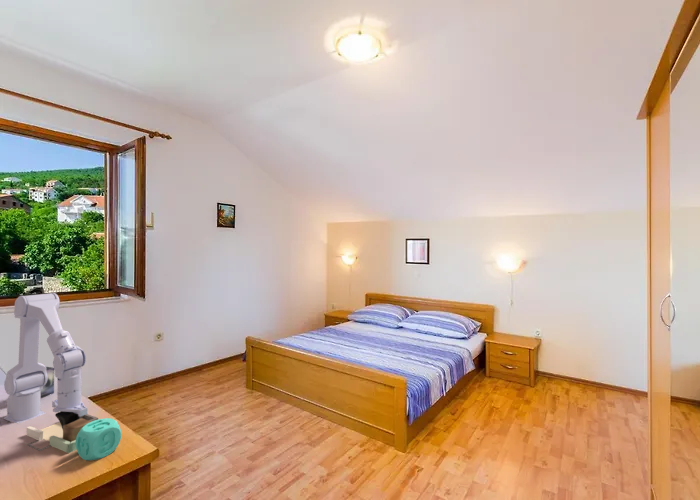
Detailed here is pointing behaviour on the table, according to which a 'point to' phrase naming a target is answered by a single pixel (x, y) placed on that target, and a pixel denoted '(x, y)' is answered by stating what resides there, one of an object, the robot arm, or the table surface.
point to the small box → (48, 383)
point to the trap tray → (54, 436)
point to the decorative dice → (98, 439)
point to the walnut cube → (73, 429)
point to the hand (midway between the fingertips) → (69, 434)
